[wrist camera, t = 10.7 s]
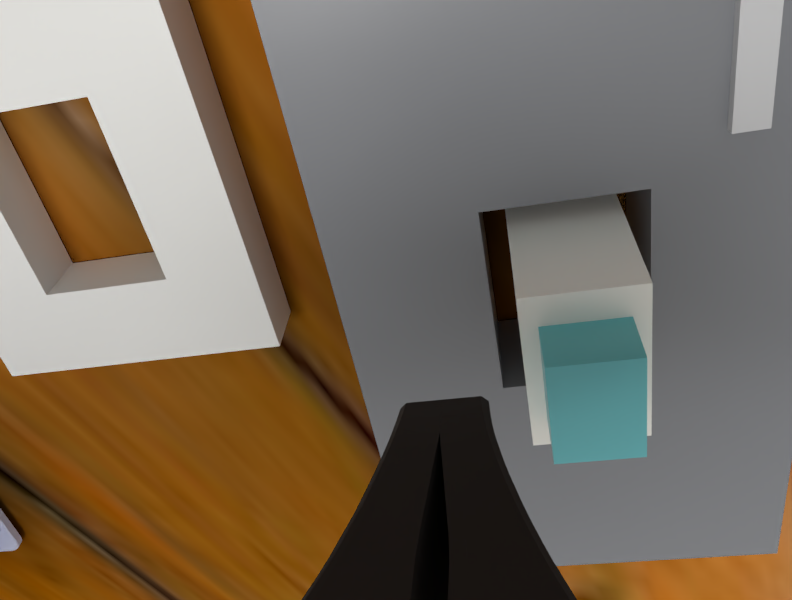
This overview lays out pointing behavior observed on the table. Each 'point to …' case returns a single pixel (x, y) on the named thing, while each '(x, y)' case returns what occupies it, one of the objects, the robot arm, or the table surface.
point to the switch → (552, 182)
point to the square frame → (148, 187)
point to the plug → (583, 328)
